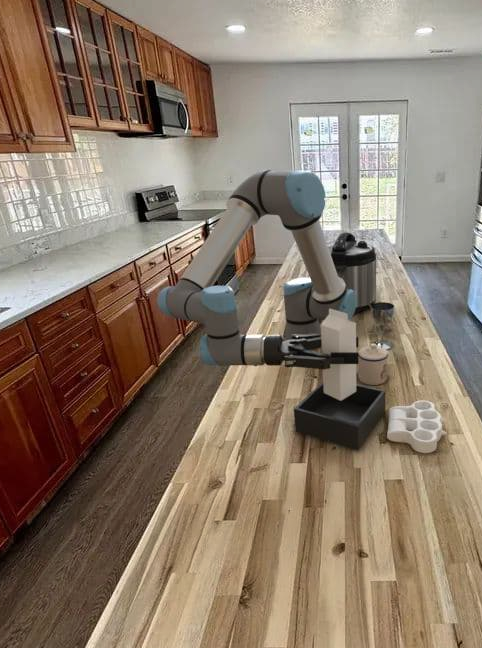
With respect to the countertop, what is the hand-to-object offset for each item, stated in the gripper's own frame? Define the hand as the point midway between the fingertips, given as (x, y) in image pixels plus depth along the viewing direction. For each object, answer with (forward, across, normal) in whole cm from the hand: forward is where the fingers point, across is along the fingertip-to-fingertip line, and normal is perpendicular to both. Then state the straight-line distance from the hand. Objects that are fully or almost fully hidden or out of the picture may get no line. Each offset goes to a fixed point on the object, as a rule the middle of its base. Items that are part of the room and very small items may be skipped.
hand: (358, 349), depth 105 cm
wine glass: (+9, -47, -21) cm, 52 cm away
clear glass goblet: (+9, -61, -21) cm, 65 cm away
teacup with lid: (+5, -24, -21) cm, 33 cm away
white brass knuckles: (+15, +3, -21) cm, 26 cm away
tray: (-4, 0, -21) cm, 22 cm away
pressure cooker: (-6, -89, -21) cm, 92 cm away
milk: (-5, 0, -12) cm, 13 cm away
